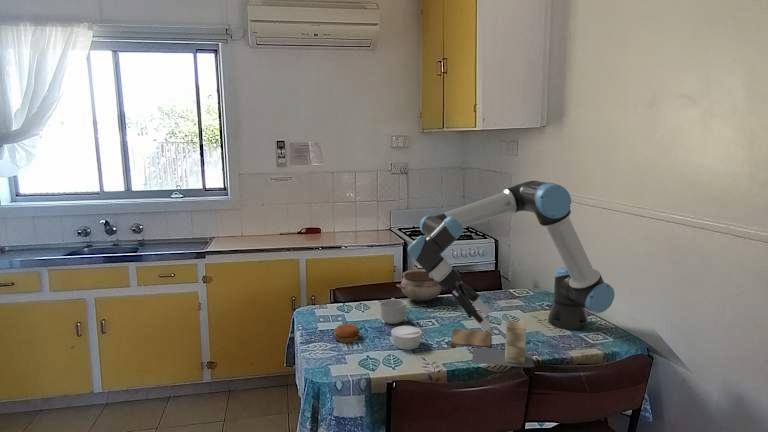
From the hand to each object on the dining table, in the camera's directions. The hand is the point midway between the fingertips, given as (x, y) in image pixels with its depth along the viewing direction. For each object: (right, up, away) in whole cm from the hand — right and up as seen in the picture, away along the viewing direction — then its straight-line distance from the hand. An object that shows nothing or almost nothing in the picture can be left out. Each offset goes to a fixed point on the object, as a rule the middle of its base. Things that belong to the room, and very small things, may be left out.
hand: (488, 320), depth 175 cm
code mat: (+5, -14, +2) cm, 15 cm away
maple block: (+9, -13, +1) cm, 16 cm away
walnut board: (-3, -11, +18) cm, 22 cm away
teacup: (-31, -8, +40) cm, 51 cm away
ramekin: (-27, -12, +15) cm, 33 cm away
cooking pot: (-18, -4, +65) cm, 68 cm away
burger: (-49, -11, +21) cm, 55 cm away
